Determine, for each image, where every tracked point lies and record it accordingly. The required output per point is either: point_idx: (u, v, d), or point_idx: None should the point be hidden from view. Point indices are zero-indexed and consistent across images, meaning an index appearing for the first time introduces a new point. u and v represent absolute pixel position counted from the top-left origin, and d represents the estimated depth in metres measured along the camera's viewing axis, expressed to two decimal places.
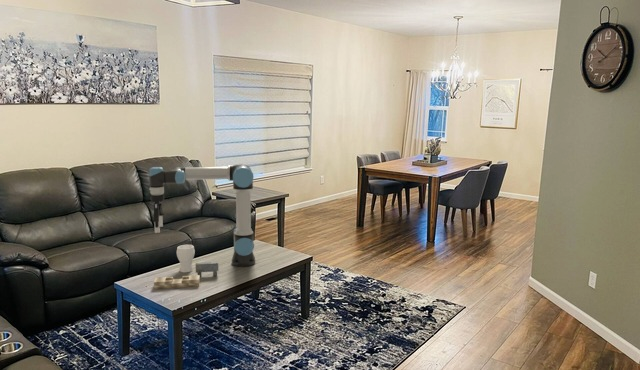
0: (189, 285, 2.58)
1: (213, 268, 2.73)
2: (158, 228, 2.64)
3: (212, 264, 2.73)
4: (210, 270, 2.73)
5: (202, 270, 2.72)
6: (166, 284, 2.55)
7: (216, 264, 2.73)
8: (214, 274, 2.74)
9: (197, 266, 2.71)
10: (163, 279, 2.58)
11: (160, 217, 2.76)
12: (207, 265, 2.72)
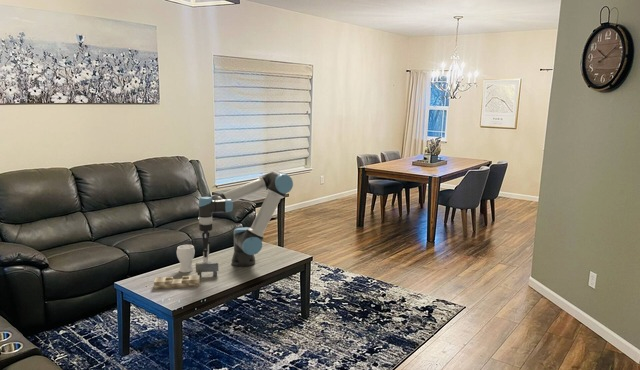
0: (189, 285, 2.58)
1: (213, 268, 2.73)
2: (207, 258, 2.66)
3: (212, 264, 2.73)
4: (210, 270, 2.73)
5: (202, 270, 2.72)
6: (166, 284, 2.55)
7: (216, 264, 2.73)
8: (214, 274, 2.74)
9: (197, 266, 2.71)
10: (163, 279, 2.58)
11: None
12: (207, 265, 2.72)
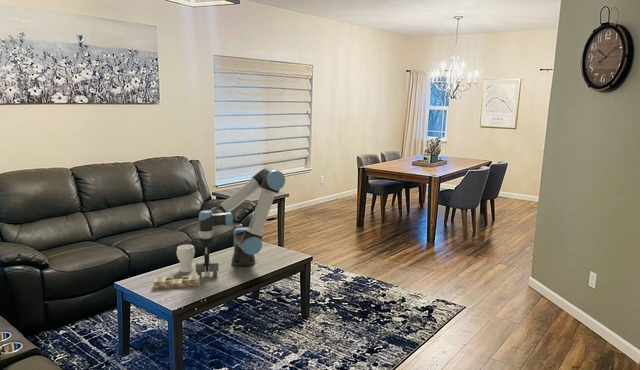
0: (189, 285, 2.58)
1: (213, 268, 2.73)
2: (208, 272, 2.72)
3: (212, 264, 2.73)
4: (210, 270, 2.73)
5: (202, 270, 2.72)
6: (166, 284, 2.55)
7: (216, 264, 2.73)
8: (214, 274, 2.74)
9: (197, 266, 2.71)
10: (163, 279, 2.58)
11: None
12: None
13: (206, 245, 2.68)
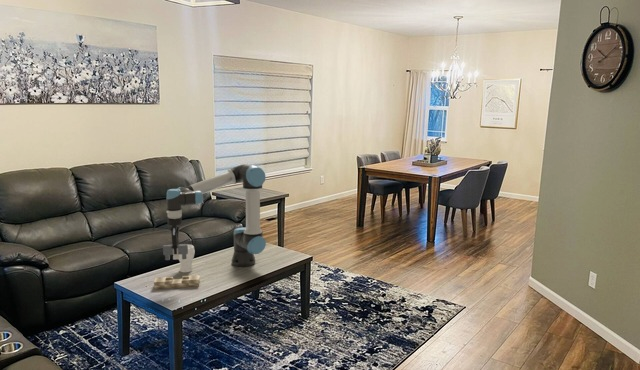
0: (189, 285, 2.58)
1: (182, 251, 2.56)
2: (177, 255, 2.55)
3: (181, 246, 2.55)
4: (179, 253, 2.56)
5: (170, 252, 2.55)
6: (166, 284, 2.55)
7: (185, 247, 2.56)
8: (183, 257, 2.57)
9: (165, 248, 2.54)
10: (163, 279, 2.58)
11: None
12: None
13: (174, 226, 2.50)
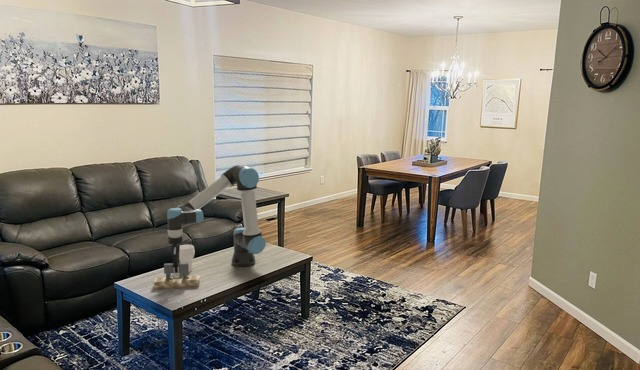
0: (189, 285, 2.58)
1: (182, 269, 2.58)
2: (177, 273, 2.57)
3: (182, 265, 2.57)
4: (179, 271, 2.58)
5: (171, 271, 2.57)
6: (166, 284, 2.55)
7: (185, 265, 2.58)
8: (184, 275, 2.59)
9: (165, 267, 2.56)
10: (163, 279, 2.58)
11: None
12: None
13: (175, 245, 2.52)
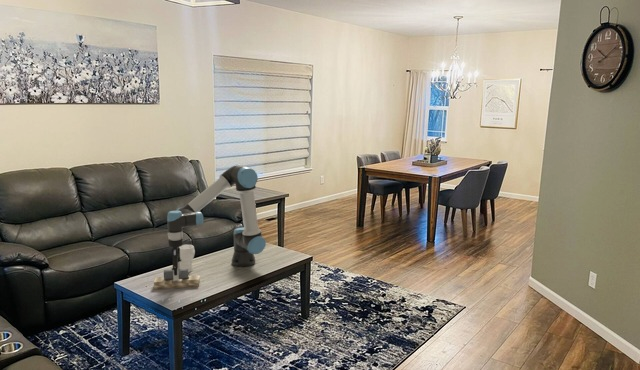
0: (189, 285, 2.58)
1: (182, 276, 2.58)
2: (177, 276, 2.53)
3: (181, 271, 2.58)
4: (179, 277, 2.58)
5: (171, 277, 2.57)
6: (166, 284, 2.55)
7: (185, 271, 2.58)
8: None
9: (165, 273, 2.56)
10: (163, 279, 2.58)
11: (178, 263, 2.63)
12: None
13: None
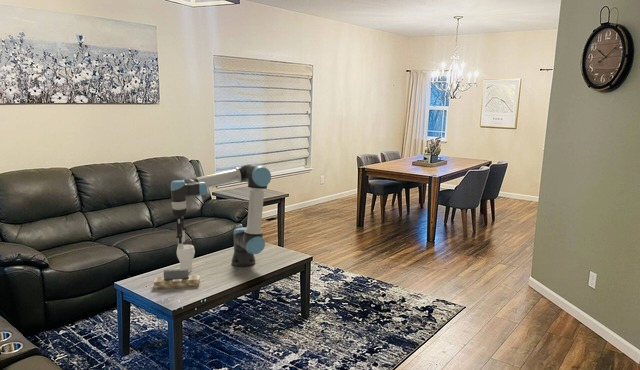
0: (189, 285, 2.58)
1: (182, 276, 2.58)
2: (182, 244, 2.52)
3: (181, 271, 2.58)
4: (179, 277, 2.58)
5: (171, 277, 2.57)
6: (166, 284, 2.55)
7: (185, 271, 2.58)
8: None
9: (165, 273, 2.56)
10: (163, 279, 2.58)
11: (182, 232, 2.65)
12: (176, 272, 2.57)
13: None
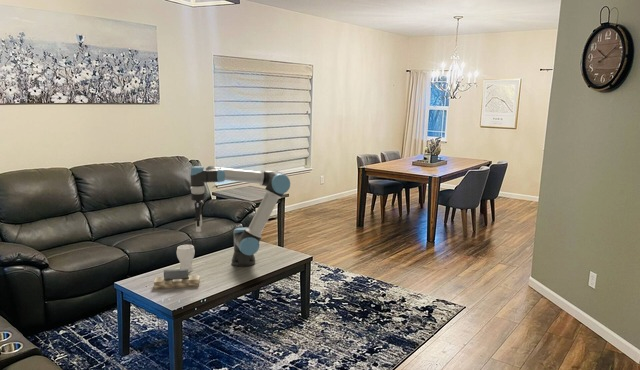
0: (189, 285, 2.58)
1: (182, 276, 2.58)
2: (199, 227, 2.64)
3: (181, 271, 2.58)
4: (179, 277, 2.58)
5: (171, 277, 2.57)
6: (166, 284, 2.55)
7: (185, 271, 2.58)
8: None
9: (165, 273, 2.56)
10: (163, 279, 2.58)
11: (199, 216, 2.76)
12: (176, 272, 2.57)
13: None
